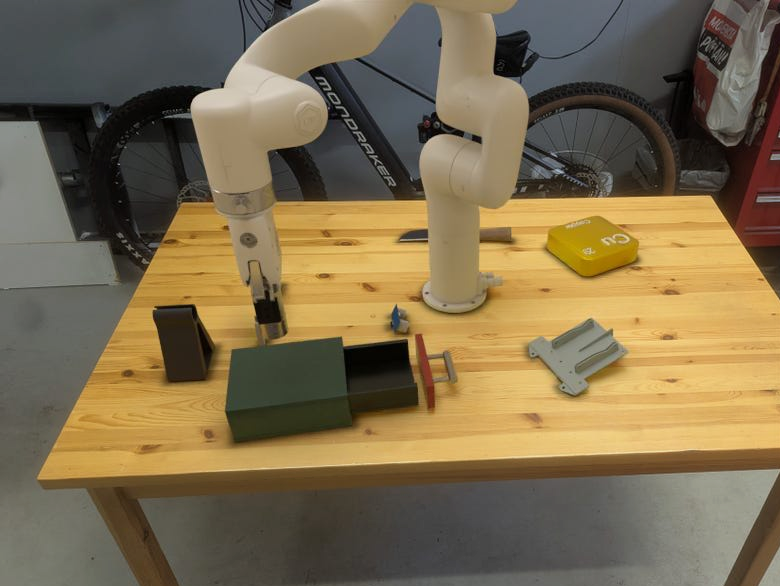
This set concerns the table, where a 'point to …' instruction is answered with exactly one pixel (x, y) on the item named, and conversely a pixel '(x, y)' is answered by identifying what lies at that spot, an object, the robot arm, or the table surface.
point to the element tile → (592, 245)
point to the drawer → (390, 375)
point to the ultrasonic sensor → (399, 320)
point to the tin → (275, 329)
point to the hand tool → (485, 234)
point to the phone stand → (183, 342)
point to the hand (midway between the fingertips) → (270, 311)
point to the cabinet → (287, 389)
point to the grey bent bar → (261, 340)
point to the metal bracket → (578, 353)
